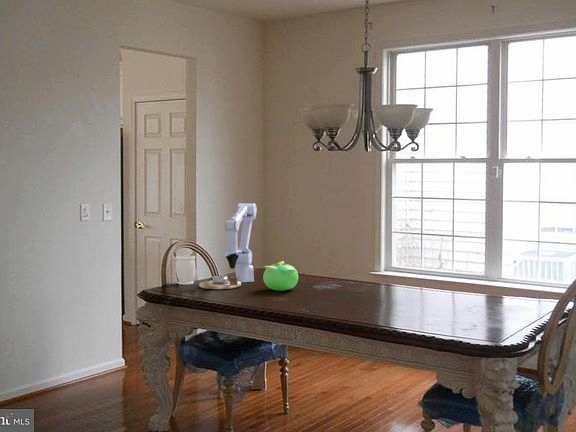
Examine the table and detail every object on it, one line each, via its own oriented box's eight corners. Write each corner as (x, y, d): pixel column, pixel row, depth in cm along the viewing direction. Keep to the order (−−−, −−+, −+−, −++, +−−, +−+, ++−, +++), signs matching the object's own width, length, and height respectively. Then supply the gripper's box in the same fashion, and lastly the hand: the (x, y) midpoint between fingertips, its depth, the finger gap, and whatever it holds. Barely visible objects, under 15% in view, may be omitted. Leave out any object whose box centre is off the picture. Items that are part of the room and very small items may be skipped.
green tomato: (299, 287, 375) (299, 259, 374) (296, 293, 359) (296, 264, 358) (265, 287, 377) (265, 259, 376) (261, 293, 361) (260, 264, 359)
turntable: (231, 280, 396) (231, 271, 395) (247, 286, 376) (247, 277, 376) (193, 284, 386) (193, 274, 385) (207, 290, 366) (207, 280, 366)
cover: (224, 281, 386) (224, 274, 386) (229, 283, 379) (229, 277, 378) (210, 282, 383) (210, 276, 382) (215, 285, 375) (215, 278, 375)
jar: (172, 284, 388) (172, 257, 387) (181, 281, 398) (180, 254, 397) (190, 285, 385) (190, 257, 384) (198, 282, 395) (198, 255, 394)
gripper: (234, 241, 389) (234, 266, 390) (217, 243, 377) (218, 269, 378) (244, 241, 386) (245, 267, 387) (228, 244, 373) (228, 270, 374)
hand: (232, 268), depth 382 cm, fingers closed
